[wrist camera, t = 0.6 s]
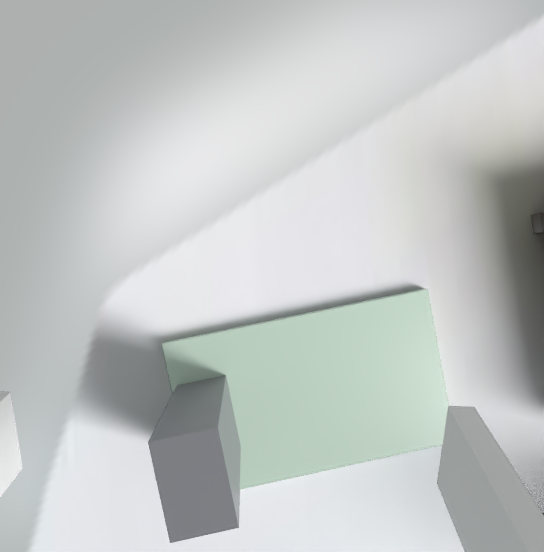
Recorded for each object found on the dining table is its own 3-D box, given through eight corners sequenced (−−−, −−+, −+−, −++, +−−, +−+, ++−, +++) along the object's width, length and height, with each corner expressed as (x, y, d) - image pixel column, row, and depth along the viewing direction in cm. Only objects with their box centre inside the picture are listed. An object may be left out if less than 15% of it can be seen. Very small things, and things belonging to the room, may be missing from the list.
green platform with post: (449, 436, 43) (539, 518, 30) (196, 492, 42) (174, 602, 29) (422, 288, 42) (503, 305, 29) (164, 341, 41) (126, 384, 28)
